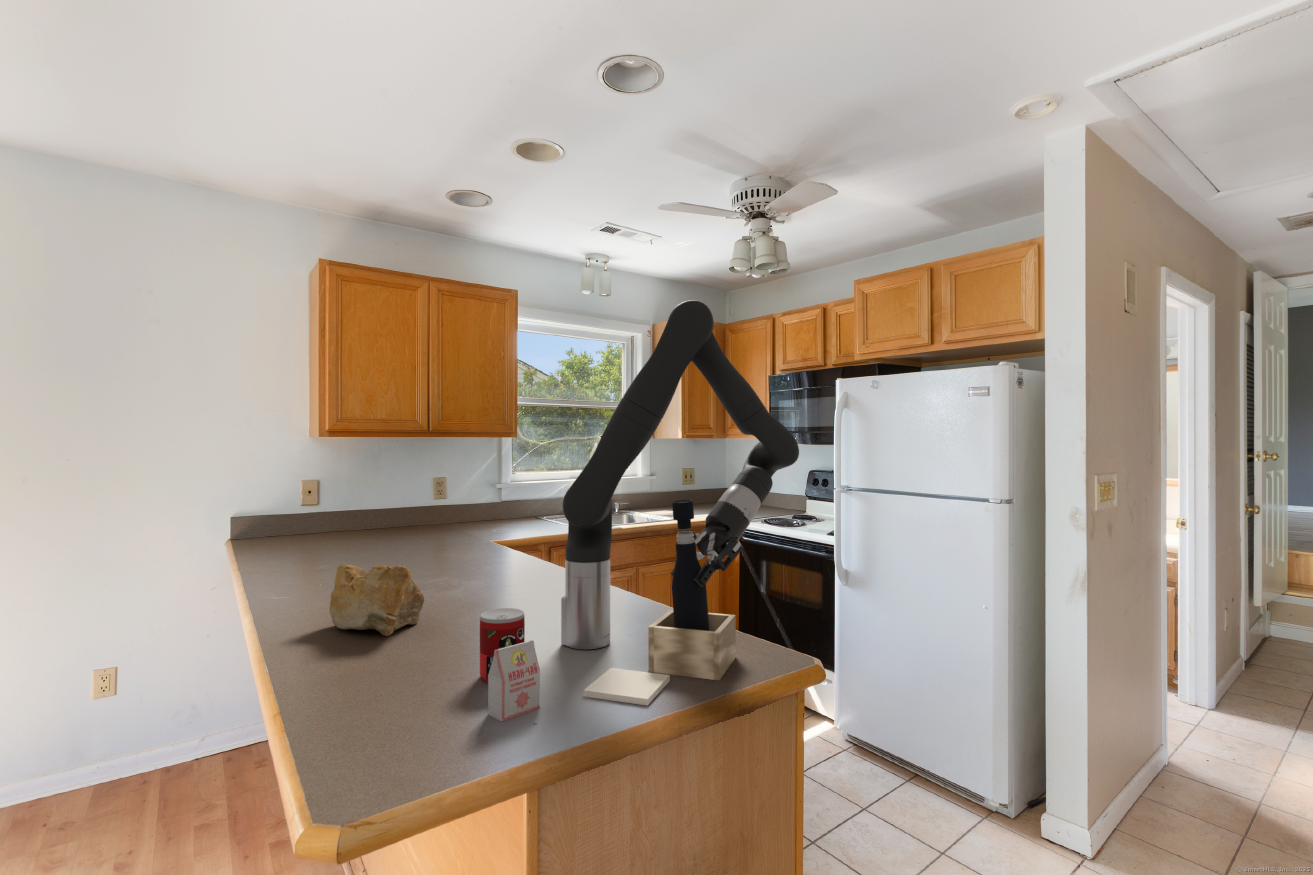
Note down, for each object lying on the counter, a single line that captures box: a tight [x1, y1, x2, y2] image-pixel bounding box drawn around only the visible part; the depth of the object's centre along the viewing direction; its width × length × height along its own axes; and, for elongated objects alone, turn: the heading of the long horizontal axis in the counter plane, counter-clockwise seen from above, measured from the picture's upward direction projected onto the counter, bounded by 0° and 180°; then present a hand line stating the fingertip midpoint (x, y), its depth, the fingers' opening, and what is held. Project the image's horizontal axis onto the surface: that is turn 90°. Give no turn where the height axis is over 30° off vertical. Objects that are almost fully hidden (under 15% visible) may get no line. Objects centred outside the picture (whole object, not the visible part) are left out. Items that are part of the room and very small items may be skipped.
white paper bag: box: [487, 640, 541, 722], centre depth 96 cm, size 4×7×10 cm, turn 137°
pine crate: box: [647, 609, 737, 681], centre depth 117 cm, size 13×13×8 cm
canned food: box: [479, 607, 526, 684], centre depth 111 cm, size 8×8×11 cm
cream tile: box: [583, 667, 671, 707], centre depth 105 cm, size 11×11×1 cm
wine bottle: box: [671, 499, 709, 631], centre depth 116 cm, size 6×6×30 cm
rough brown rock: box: [329, 564, 425, 637], centre depth 142 cm, size 23×17×15 cm
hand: (686, 580), depth 116 cm, fingers closed on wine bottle, 6 cm apart
